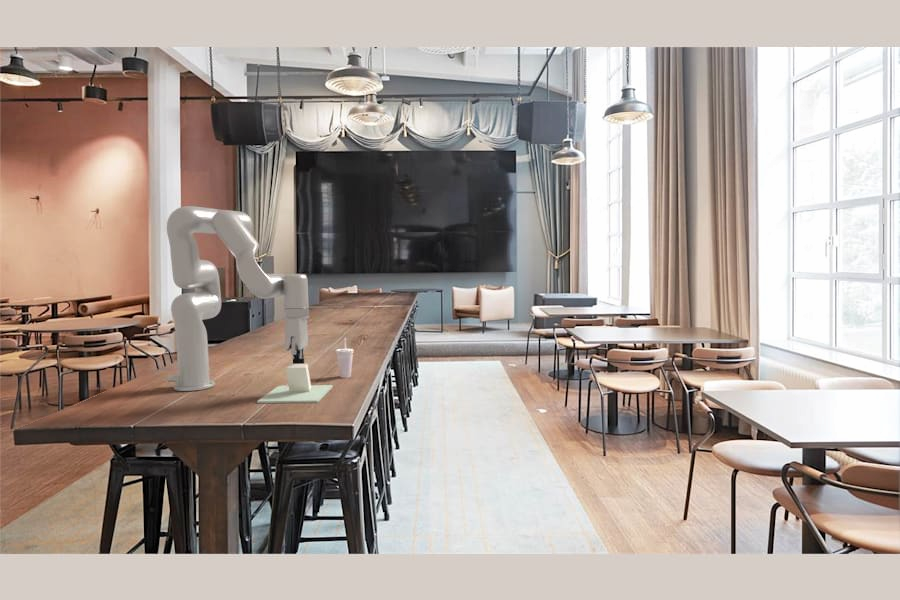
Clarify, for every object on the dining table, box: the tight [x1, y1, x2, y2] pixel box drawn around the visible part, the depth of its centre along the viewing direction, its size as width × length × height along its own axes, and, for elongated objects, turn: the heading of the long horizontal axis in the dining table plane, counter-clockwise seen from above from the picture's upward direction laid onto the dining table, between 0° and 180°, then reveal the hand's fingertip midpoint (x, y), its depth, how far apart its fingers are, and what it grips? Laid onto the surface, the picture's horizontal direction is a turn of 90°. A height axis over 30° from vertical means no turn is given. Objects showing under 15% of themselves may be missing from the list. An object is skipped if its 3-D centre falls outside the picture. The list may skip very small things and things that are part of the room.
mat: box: [256, 384, 333, 404], centre depth 182 cm, size 18×20×1 cm
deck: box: [284, 363, 312, 392], centre depth 182 cm, size 6×2×9 cm, turn 89°
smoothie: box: [335, 337, 354, 379], centre depth 207 cm, size 6×6×14 cm
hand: (298, 370), depth 184 cm, fingers closed
